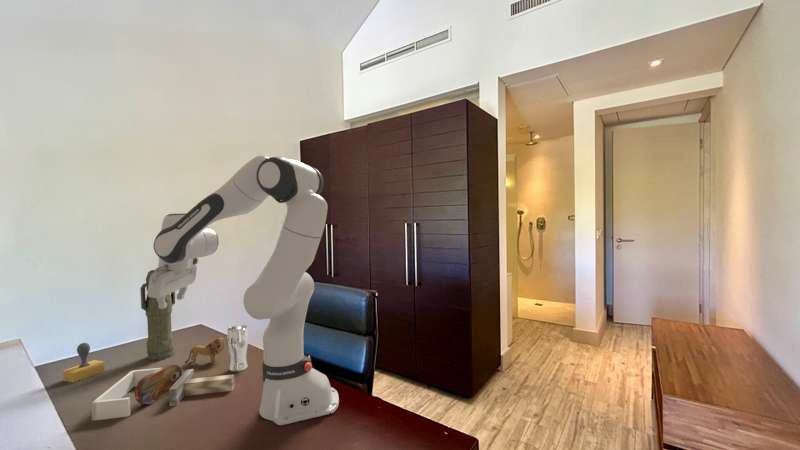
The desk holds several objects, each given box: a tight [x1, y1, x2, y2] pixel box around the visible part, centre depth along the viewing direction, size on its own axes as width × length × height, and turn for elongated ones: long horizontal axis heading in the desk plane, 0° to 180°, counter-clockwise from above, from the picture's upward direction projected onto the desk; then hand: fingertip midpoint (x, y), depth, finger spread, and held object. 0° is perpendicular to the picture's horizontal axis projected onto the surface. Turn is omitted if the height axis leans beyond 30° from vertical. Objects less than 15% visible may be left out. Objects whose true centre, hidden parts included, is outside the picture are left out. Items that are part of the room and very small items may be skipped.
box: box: [90, 367, 161, 421], centre depth 110 cm, size 9×21×5 cm, turn 12°
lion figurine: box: [184, 337, 227, 366], centre depth 136 cm, size 15×5×9 cm, turn 103°
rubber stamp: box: [62, 342, 106, 383], centre depth 127 cm, size 10×6×12 cm, turn 160°
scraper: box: [168, 368, 235, 407], centre depth 114 cm, size 16×14×5 cm
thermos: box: [139, 269, 176, 361], centre depth 143 cm, size 9×12×35 cm
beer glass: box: [226, 324, 249, 373], centre depth 131 cm, size 7×7×15 cm
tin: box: [134, 364, 183, 405], centre depth 111 cm, size 15×3×8 cm, turn 168°
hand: (171, 303), depth 116 cm, fingers open, 8 cm apart
